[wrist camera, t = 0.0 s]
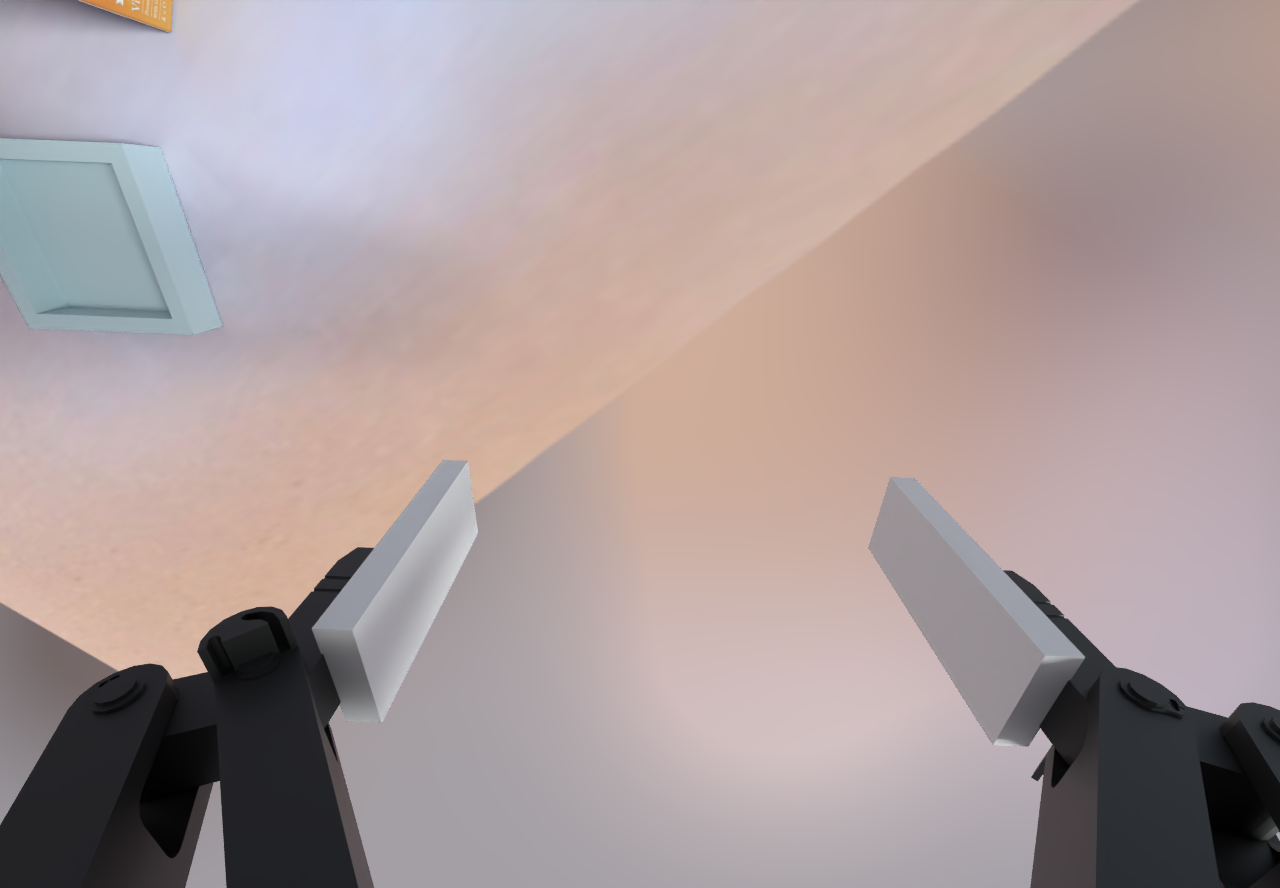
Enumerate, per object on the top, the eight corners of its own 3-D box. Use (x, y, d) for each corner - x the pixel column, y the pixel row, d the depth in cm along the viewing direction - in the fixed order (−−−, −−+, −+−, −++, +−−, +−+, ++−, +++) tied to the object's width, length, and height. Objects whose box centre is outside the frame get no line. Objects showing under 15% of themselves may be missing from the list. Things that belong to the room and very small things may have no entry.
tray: (-19, 140, 36) (-73, 135, 33) (160, 147, 36) (121, 143, 33) (69, 320, 41) (28, 328, 39) (223, 326, 41) (193, 334, 39)
